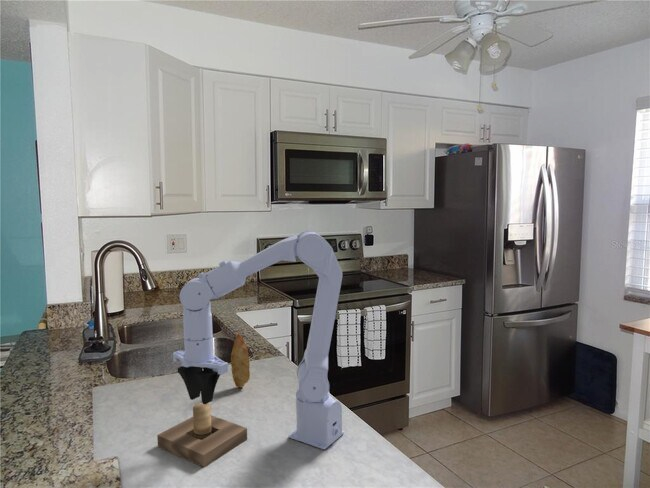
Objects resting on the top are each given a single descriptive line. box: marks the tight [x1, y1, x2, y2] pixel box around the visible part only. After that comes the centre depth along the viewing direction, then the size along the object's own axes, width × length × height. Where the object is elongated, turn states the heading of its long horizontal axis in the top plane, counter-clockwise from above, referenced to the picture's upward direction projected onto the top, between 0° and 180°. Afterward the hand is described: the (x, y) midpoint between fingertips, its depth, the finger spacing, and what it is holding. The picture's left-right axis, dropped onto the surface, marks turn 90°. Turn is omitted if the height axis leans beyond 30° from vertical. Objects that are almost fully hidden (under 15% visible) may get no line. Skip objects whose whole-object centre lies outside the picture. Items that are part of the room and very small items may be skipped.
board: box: [156, 414, 248, 468], centre depth 95 cm, size 14×12×2 cm
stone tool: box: [230, 332, 251, 388], centre depth 123 cm, size 5×2×15 cm, turn 93°
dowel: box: [192, 402, 212, 440], centre depth 95 cm, size 4×4×8 cm
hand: (201, 400), depth 95 cm, fingers open, 3 cm apart
